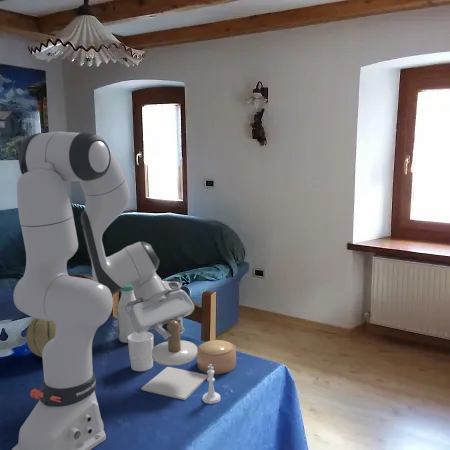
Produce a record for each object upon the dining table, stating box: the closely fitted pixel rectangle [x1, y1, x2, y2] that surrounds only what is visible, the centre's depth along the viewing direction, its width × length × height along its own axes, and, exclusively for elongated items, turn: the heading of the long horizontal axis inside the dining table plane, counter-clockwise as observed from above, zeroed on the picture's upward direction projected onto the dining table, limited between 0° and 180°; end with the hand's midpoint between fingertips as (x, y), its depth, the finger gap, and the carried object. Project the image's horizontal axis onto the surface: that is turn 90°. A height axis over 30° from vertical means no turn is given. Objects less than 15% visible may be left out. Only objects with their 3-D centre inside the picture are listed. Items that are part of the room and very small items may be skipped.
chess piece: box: [201, 364, 221, 405], centre depth 130 cm, size 5×5×10 cm
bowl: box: [196, 339, 237, 375], centre depth 150 cm, size 12×12×6 cm
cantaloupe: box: [26, 318, 56, 358], centre depth 158 cm, size 15×15×15 cm
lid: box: [152, 320, 198, 367], centre depth 137 cm, size 13×13×10 cm
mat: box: [141, 366, 209, 401], centre depth 139 cm, size 14×14×1 cm
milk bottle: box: [117, 284, 137, 344], centre depth 169 cm, size 8×8×20 cm
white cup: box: [127, 331, 155, 372], centre depth 149 cm, size 8×8×10 cm
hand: (175, 335), depth 137 cm, fingers closed on lid, 4 cm apart
